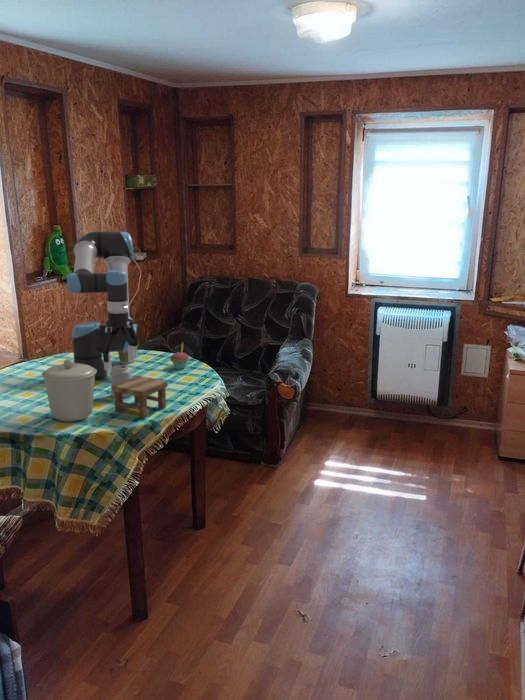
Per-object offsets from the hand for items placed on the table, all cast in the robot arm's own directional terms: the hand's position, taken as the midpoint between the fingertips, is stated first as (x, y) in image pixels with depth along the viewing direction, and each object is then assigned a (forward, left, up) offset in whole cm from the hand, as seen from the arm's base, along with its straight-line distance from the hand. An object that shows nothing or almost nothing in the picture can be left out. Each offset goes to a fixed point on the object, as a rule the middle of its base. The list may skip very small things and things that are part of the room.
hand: (120, 366), depth 224 cm
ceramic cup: (-29, +40, -13) cm, 51 cm away
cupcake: (-3, +44, -13) cm, 46 cm away
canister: (0, -26, -13) cm, 29 cm away
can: (0, 0, -13) cm, 13 cm away
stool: (+16, -8, -12) cm, 21 cm away
